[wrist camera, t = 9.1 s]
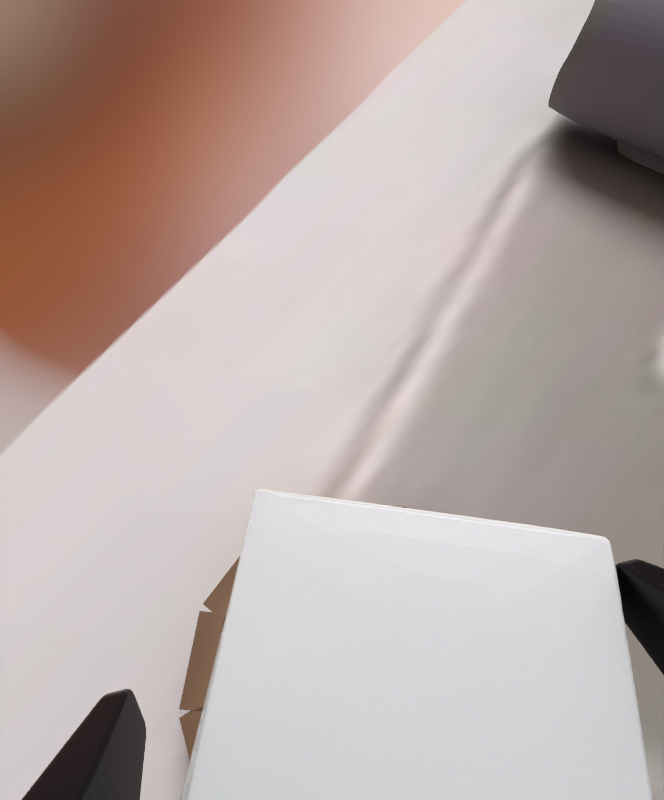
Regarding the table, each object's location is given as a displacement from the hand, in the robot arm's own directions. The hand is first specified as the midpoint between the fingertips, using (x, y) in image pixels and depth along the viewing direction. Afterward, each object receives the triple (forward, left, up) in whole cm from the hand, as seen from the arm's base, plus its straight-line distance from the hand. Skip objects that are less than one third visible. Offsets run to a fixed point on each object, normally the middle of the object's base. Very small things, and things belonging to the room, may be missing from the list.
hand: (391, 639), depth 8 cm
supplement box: (-1, -1, -12) cm, 12 cm away
